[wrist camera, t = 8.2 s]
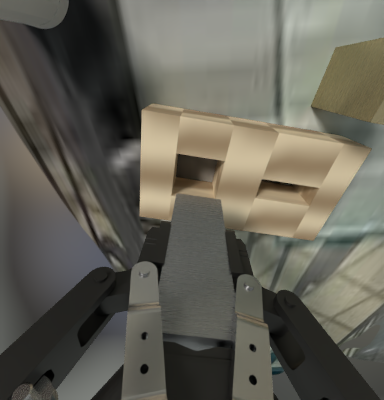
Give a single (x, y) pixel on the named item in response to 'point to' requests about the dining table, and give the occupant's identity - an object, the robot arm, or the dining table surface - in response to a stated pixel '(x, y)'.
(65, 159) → the dining table surface
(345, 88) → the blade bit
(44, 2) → the cup
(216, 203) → the square bit
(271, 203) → the socket block
